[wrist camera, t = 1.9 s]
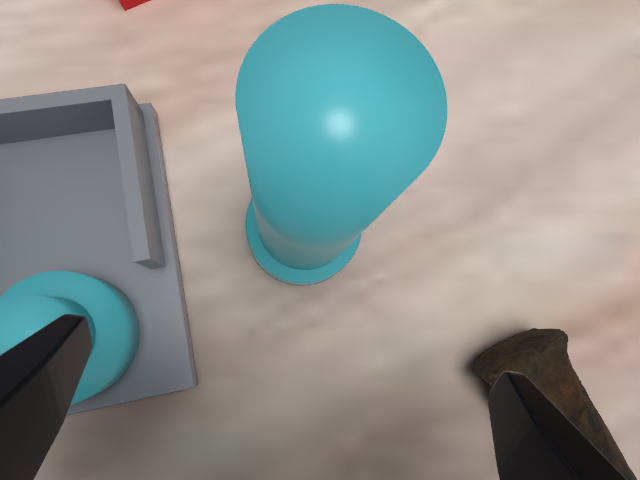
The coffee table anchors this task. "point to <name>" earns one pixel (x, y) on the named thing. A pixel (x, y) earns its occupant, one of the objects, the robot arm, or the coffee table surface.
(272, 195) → the teal peg
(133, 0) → the bracket
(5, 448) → the robot arm
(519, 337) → the hand tool
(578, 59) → the coffee table surface
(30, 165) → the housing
